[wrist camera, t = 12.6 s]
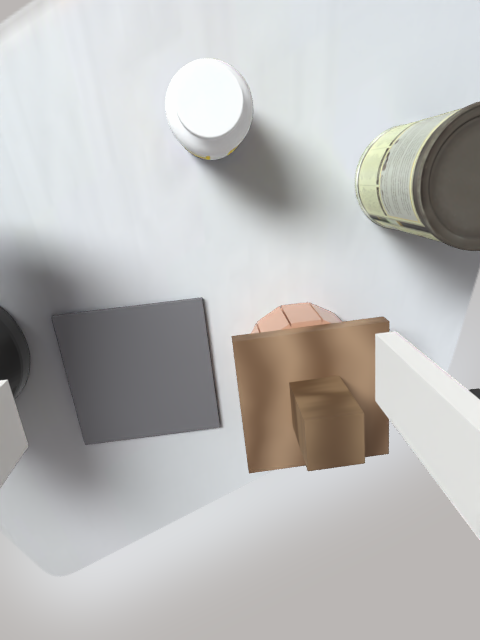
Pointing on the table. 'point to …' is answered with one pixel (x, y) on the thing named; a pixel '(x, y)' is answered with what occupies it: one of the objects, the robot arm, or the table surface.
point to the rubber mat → (139, 370)
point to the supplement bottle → (209, 108)
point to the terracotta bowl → (295, 317)
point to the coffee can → (426, 178)
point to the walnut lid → (311, 395)
